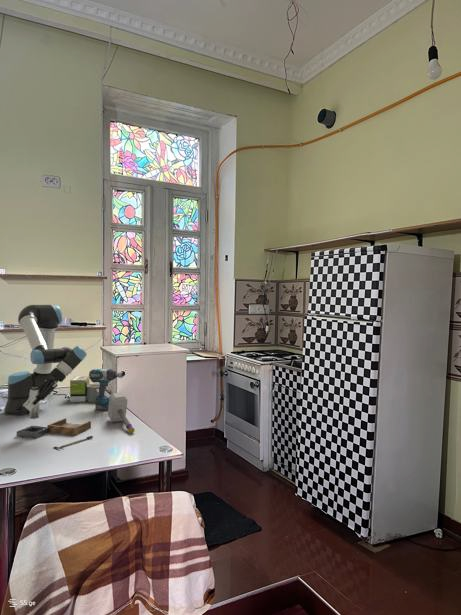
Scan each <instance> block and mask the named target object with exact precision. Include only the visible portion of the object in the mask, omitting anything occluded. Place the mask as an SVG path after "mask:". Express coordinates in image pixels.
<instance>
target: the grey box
mask: <svg viewBox="0 0 461 615" xmlns="http://www.w3.org/2000/svg"><path fill="white" fill-rule="evenodd" d="M99 386H100V383H98V384H90V385H88V386H87V400H86V402H88V403H97V402H96V397H97V396H98V395H99Z"/></svg>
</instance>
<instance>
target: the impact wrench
mask: <svg viewBox="0 0 461 615" xmlns="http://www.w3.org/2000/svg"><path fill="white" fill-rule="evenodd" d="M88 376H89V378H90V381H91V382H92V383H98V384H99V385H100V386H99V395H98V396H97V397H96V402H95V409H96V410H98V411H108V408H109V397H110V396H108V395H105V392H106V389H107V387H108V386H109V383H110V382H111V381H113V380H115V379H117V378H118V379H122V378H123V377H124V372H123V371H119V372H117V371H116V370H114V369H112V368H108V369H107V368H98V369H91V370H90V371H89V374H88Z"/></svg>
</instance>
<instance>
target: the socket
mask: <svg viewBox="0 0 461 615" xmlns="http://www.w3.org/2000/svg"><path fill="white" fill-rule="evenodd" d="M48 434H50V428H47V426H38V425H30V426H28V427H25V428H23V429H20V430H18V431H16V437H17V438H26V439H35V440H36V439H39V438H41V437H42V436H45V435H48Z"/></svg>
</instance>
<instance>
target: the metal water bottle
mask: <svg viewBox="0 0 461 615" xmlns="http://www.w3.org/2000/svg"><path fill="white" fill-rule="evenodd" d="M39 394H40V389H38V387H32V388H31V389H30V394H29V398H30V402H31V401H32V400H33V399H34V398H35V397H36V396H38V395H39ZM36 398H37V397H36ZM28 415H29V416H28V417H29V419H31V420H34V419H39V418H40V401H39V402H38V403H37V404H36V405H35V406H34V407H33V409H32V410H31V411H30V412H29V413H28Z"/></svg>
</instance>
